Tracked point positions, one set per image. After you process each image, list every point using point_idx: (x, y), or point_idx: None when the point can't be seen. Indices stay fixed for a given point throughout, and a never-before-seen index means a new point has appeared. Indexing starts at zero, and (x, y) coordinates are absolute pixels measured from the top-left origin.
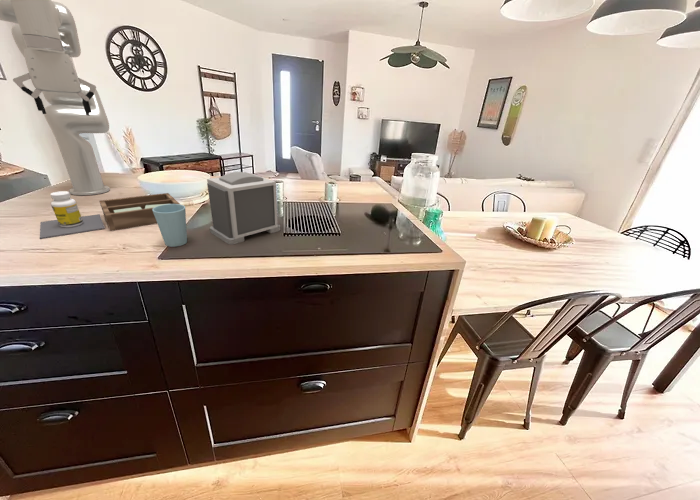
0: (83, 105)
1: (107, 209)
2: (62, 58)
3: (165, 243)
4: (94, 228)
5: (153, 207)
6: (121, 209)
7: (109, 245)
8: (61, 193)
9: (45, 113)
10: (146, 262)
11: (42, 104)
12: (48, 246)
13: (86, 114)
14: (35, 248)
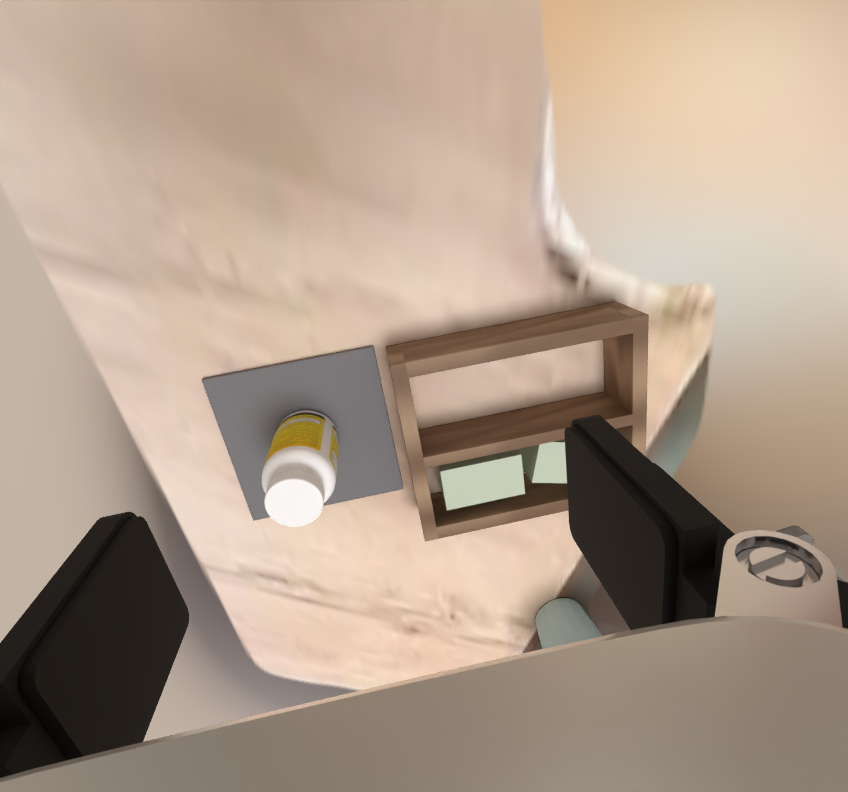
0: (624, 531)
1: (426, 487)
2: None
3: (537, 630)
4: (376, 487)
5: (559, 474)
6: (463, 470)
7: (421, 594)
8: (300, 507)
9: (182, 615)
10: None
11: (146, 721)
12: (290, 567)
13: (571, 522)
14: (264, 571)
